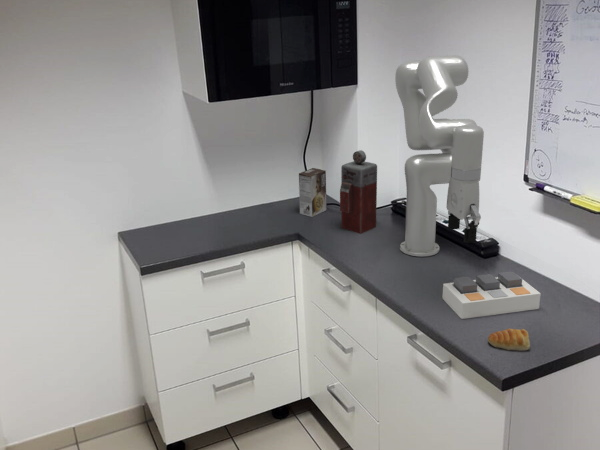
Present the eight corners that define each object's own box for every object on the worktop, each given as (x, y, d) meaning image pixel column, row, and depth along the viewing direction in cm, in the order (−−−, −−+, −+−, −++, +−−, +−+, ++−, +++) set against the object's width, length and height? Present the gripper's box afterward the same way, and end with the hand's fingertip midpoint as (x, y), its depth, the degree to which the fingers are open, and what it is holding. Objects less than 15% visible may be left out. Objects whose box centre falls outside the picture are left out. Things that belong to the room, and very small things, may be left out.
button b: (475, 287, 177) (476, 275, 176) (489, 285, 178) (490, 273, 177) (484, 295, 173) (485, 283, 171) (498, 293, 173) (500, 281, 172)
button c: (497, 284, 178) (498, 272, 177) (511, 283, 179) (512, 271, 178) (506, 292, 174) (507, 280, 172) (521, 291, 175) (522, 279, 173)
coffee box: (313, 207, 252) (313, 167, 246) (327, 210, 248) (326, 170, 243) (299, 213, 246) (297, 172, 240) (312, 217, 242) (311, 175, 236)
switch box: (442, 298, 178) (443, 283, 176) (515, 289, 182) (517, 274, 180) (461, 319, 167) (462, 302, 165) (538, 308, 171) (540, 292, 169)
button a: (453, 290, 176) (454, 278, 175) (467, 288, 177) (468, 276, 176) (461, 298, 171) (462, 286, 170) (476, 296, 172) (477, 284, 171)
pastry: (491, 351, 152) (492, 337, 151) (484, 337, 159) (486, 323, 157) (531, 352, 152) (533, 337, 151) (523, 337, 158) (525, 323, 157)
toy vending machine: (336, 229, 229) (336, 152, 219) (357, 221, 236) (357, 146, 227) (356, 235, 223) (357, 156, 213) (376, 227, 231) (377, 150, 221)
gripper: (438, 166, 174) (435, 225, 180) (467, 184, 158) (462, 248, 164) (464, 164, 175) (460, 223, 181) (495, 181, 159) (489, 245, 165)
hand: (461, 235), depth 173 cm, fingers open, 9 cm apart
